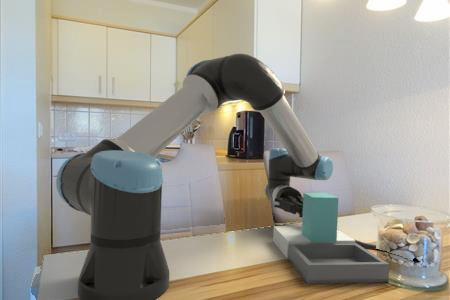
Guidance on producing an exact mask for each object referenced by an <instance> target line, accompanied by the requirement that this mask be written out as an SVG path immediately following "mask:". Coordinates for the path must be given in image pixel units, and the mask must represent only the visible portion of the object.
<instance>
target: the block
mask: <svg viewBox="0 0 450 300" xmlns="http://www.w3.org/2000/svg"><path fill="white" fill-rule="evenodd" d="M302 197H303V216H302V217H301V218H302V220H301V221H302V222H301V223H302V224H301V226H302V234H303V235H304V236H305V237H306V238H307V239H308V240H309V241H311V242H337V230H338V218H339V217H338V215H339V196H335V195H333V194H330V193H329V192H328V193H327V192H303V194H302Z"/></svg>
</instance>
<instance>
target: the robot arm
mask: <svg viewBox="0 0 450 300" xmlns="http://www.w3.org/2000/svg"><path fill="white" fill-rule="evenodd" d="M285 91H286V90H285V87H284V85H283V84H282V82H281V81H280V79H279V77H278V76H277V75H276V74H275V72H273V71H272V70H271V69H270V68H269V66H267V64H265V63H264V62H263V61H261V60H259V59H258V58H256V57H254V56H252V55H249V54H246V53H233V54H230V55H226V56H221V57H217V58H213V59H206V60H202V61H200V62H198V63H195V64H194V65H192V66H191V67H190V68H189V69H188V72H187V73H186V76H185V77H184V79H183V81H182V87H181V88H180V89H178V90H177V91H176V92H174V93H173V94H172V95H171V96H169V97H168V98H167V99H166V100H164V101H163V102H162V103H160V104H159V105H158V106H157V107H156V108H154V109H152V110H151V111H150V112H149V113H148V114H146V115H145V116H144V117H143V118H141V119H140V120H139V121H137V122H136V123H134V125H132V126H131V127H129V128H128V129H127V130H126V131H124V133H122V134H121V135H119V136H118V137H117V138H115V139H112V138H111V139H110V138H103V140H101V141H100V142H99V143H97V144H95V146H93V147H91V148H90V149H89V150H88V151H87V152H80V153H77V154H74V155H73V156H70V157H69V158H67V159H66V160H65V161H64V162H63V163H62V164H61V166H60V167H59V169H58V170H57V171H58V172H57V175H56V180H55V181H56V189H57V192H58V195H59V196H60V198H61V199H62V201H64V202H65V203H66V204H67V205H68V206H69V207H70V208H71V209H74V210H76V211H78V212H81V213H84V214H87V215H89V216H90V244H89V248H88V251H87V253H86V257H85V260H84V263H83V265H82V268H81V271H80V274H79V277H78V281H77V282H78V283H77V294H78V297H79V299H81V300H156V299H157V298H159V297H161V296H162V295H163V294H164V293H165V292H166V291H167V290H168V289H169V286H170V268H169V264H168V261H167V258H166V256H165V255H166V254H165V252H164V248H163V246H162V242H161V228H162V227H161V226H162V225H161V224H162V198H163V197H162V194H163V192H162V191H163V183H164V178H163V166H162V163H161V161H160V159H158V158H157V156H158V155H160V153H161V152H163V150H165V149H166V148H167V147H168V146H169V145H171V144H172V143H173V142H174V141H175V140H176V139H177V138H178V137H179V136H180V135H182V134H183V133H184V132H185V131H186V130H187V129H188V128H189V127H191V125H193V124H194V123H195V122H196V121H197V120H198V119H199V118H201V116H202V115H203V114H209V115H210V114H212V113H213V114H214V112H216V111H217V110H218V109H220V108H221V106H222V105H223V104H224V103H226V102H232V101H244V102H247V103H248V104H249V105H250V106H251V108H252V109H253V110H254V111H256V112H259V113H260V114H261V116H262V117H263V118H264V120H265V122H266V123H267V124H268V126H269V128H271V131H272V132H273V133H274V135H275V136H276V137H277V139H278V140H279V141H280V143H281V145H282V146H283V148H282V147H281V148H280V147H273V148H270V149H269V155H268V177H267V184H266V186H265V188H264V194H265V196H266V198H267V199H268V200H269V201H270V202H271V203H273V208H275V209H276V208H278V209H281V210H283V211H284V212H286V213H290V214H292V215H297V214H298V215H299V218H302V216H303V194H302V193H301V192H300V191H299V190H298V189H296V188H294V187H292V186H291V178H296V179H297V178H300V179H306V180H314V181H328V180H329V179H330V178H331V177H332V174H333V171H334V164H333V160H332V158H331V157H328V156H324V155H319V152H318V151H317V149H316V148H315V146H314V144H313V143H312V141H311V139H310V138H309V136H308V134H307V132H306V130H305V129H304V127H303V126H302V124H301V123H300V120H299V119H298V117H297V116H296V114H295V112H294V110H293V108H292V107H291V106H290V104H289V101H288V100H287V99H286V96H285V93H286V92H285Z"/></svg>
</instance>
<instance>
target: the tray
mask: <svg viewBox="0 0 450 300" xmlns="http://www.w3.org/2000/svg"><path fill="white" fill-rule="evenodd" d="M287 260H288V262H289V263H290V264H291V265H292V266H293V267H294V269H295V271H297V272H298V274H299V275H300V276H301V277H302V278H303V280H304V281H305V282H306V283H307V284H308V285H310V284H314V285H315V284H352V283H353V284H355V283H356V284H357V283H358V284H359V283H360V284H361V283H362V284H363V283H389V279H390V277H389V276H390V263H389V262H387V261H385V260H383V258H380V257H379V256H378V255H376V254H374V253H373V252H371V251H369V249H365V248H363V247H361V246H360V245H358V244H357V243H345V244H288V259H287Z"/></svg>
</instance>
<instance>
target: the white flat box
mask: <svg viewBox="0 0 450 300" xmlns="http://www.w3.org/2000/svg"><path fill="white" fill-rule="evenodd" d="M355 240H356V239H355V238H352V237H351V236H348V235H347V234H345V233H344V232H342V231H340V230H338V229H337V242H311V241H309V240H308V239H307V238H306V237H305V236H304V235H303V234H302V225H299V226H298V225H296V226H294V225H293V226H291V225H290V226H287V225H286V226H285V225H284V226H282V225H279V226H278V225H277V226H275V225H274V226H273V239H272V242H273V243H274V245H275V246H277V248H278V249H279V250H280V252H281V253H282V254H283V256H285V258H286V259H287V260H288V244H345V243H355Z"/></svg>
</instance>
